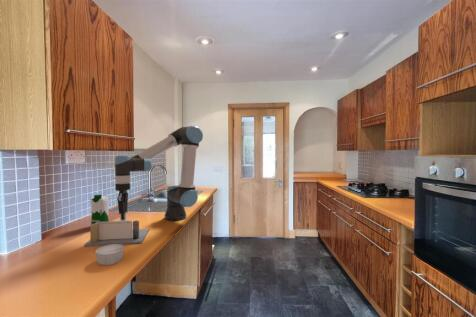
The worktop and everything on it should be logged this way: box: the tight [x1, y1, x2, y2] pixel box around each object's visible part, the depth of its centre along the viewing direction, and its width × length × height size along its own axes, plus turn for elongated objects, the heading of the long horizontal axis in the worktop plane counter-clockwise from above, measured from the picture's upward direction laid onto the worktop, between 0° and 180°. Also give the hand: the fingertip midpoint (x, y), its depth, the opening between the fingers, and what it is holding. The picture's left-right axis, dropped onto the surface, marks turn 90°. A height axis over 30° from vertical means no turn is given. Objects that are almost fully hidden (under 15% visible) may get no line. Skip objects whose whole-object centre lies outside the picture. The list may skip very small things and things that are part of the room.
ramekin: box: [94, 244, 125, 266], centre depth 106 cm, size 11×11×5 cm
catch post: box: [89, 223, 99, 243], centre depth 124 cm, size 3×2×10 cm
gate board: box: [83, 228, 150, 247], centre depth 133 cm, size 27×21×1 cm
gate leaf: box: [95, 220, 133, 240], centre depth 128 cm, size 18×2×9 cm, turn 100°
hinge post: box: [132, 220, 140, 239], centre depth 130 cm, size 3×3×10 cm
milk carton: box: [89, 194, 110, 225], centre depth 154 cm, size 9×9×20 cm
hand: (123, 224), depth 137 cm, fingers closed
